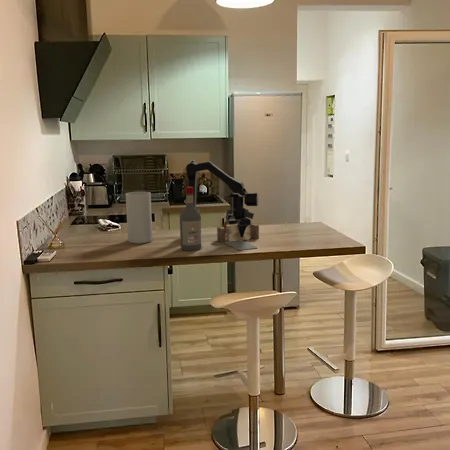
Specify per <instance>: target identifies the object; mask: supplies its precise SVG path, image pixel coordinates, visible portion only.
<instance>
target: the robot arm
mask: <svg viewBox="0 0 450 450" xmlns="http://www.w3.org/2000/svg"><path fill="white" fill-rule="evenodd" d="M185 171H186V177H187V182H188V185H187V187H193V205H194V208H195V209H196V210H197V211H198V213H199V214H200V210H201V209H197V189H198V188H197V186H198V185H197V184H198V183H197V182H198V181H197V180H198V178H199V174H200V172H201V171H209V173H211V174H212V175H214V176H216V177H217V178H218V179H219V180H221V181H222V182H223V183H225V185H226V186H227V187H228V188H229V190H230V191H232V192H231V193H230V194H229V195H227V196H228V198H231V200H232V204H231V205H232V207H230V210H231V211H232V213H227V214H226V215H225V221H226V220H227V222H228V224H229V225H231V224H238V225H237V227H238V230H239V233H240V236H241V237H243V236H244V233H245V229H246V227H247V226H249V225H250V224H252V220H253V218H254V215H255V213H253V212H251V211H249V209H248V208H247V209H246V208H245V207H244V205H246V207H258V206H259V197H258V196H259V195H258V192H253V193H252V192H248V190H247V189H246V188H245V184H244V183H243V182H242V181H241V180H239V179H237V178H235V177H231V176H230V174H227V173H226V172H225V171H223V170H222V169H220V168H219V167H218V166H217V165H215V164H214V163H213V162H212V161H206V162H199V163H198V162H195V161H192V162H189V163H188V164H187V165H186V167H185Z"/></svg>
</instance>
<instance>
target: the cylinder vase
mask: <svg viewBox="0 0 450 450" xmlns="http://www.w3.org/2000/svg"><path fill="white" fill-rule="evenodd" d="M151 196H152V193H151V191H150V192H149V191H130V192H126V193H125V206H126V207H125V208H126V224H127V225H126V226H127V241H128V243H130V244H138V245H139V244H148V243H151V242H152V241H153V223H152V221H153V219H152V197H151Z"/></svg>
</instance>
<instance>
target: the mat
mask: <svg viewBox="0 0 450 450" xmlns="http://www.w3.org/2000/svg"><path fill="white" fill-rule="evenodd" d="M223 244H225V245H226V246H229V247H230V248H233V249H234V250H236V251H238V252H239V251H249V250H255V249H258V247H257V246H255V245H253V244H251V243H249V242H247V241H244V240H238V241H226V242H223Z"/></svg>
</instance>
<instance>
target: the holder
mask: <svg viewBox="0 0 450 450" xmlns="http://www.w3.org/2000/svg"><path fill="white" fill-rule="evenodd" d="M216 233H217V236H216V237H217V238H216V239H217V242H219V243H223V244H224V242H227V240H226V234H225V228H224V226H217V228H216ZM259 234H260V226H259V225H258V224H256V223H251V224H250V238H252V239H255V240H258V239H260V235H259Z"/></svg>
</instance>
